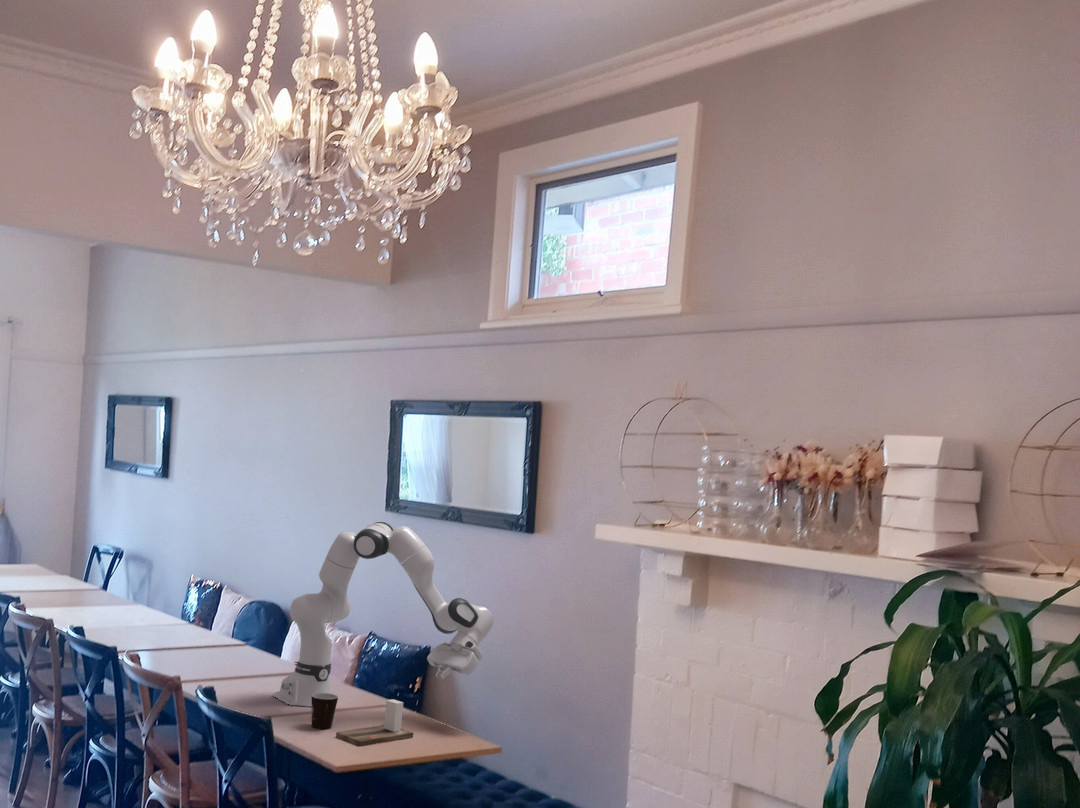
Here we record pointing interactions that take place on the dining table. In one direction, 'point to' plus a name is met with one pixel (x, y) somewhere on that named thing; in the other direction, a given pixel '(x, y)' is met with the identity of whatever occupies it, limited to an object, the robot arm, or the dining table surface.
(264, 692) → the dining table surface
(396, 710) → the switch tab
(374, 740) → the switch board
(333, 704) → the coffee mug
